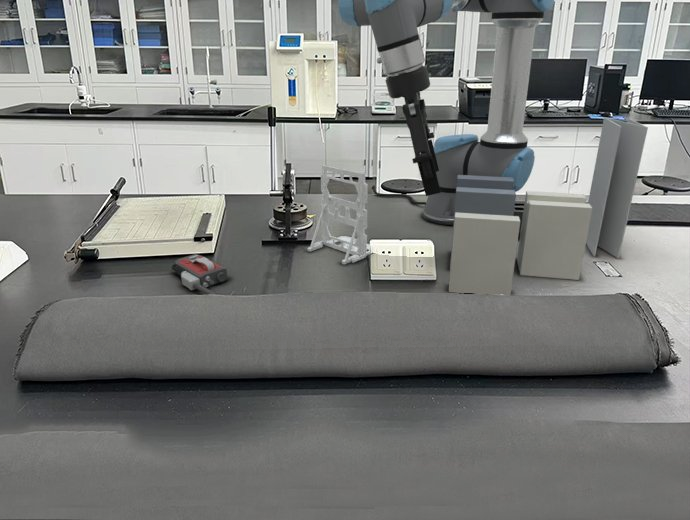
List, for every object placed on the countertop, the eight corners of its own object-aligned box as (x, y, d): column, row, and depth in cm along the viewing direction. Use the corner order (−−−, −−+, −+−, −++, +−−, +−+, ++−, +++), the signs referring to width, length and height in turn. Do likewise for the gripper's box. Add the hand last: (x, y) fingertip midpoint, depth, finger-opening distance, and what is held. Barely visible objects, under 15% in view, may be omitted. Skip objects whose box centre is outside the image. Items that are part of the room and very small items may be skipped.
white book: (510, 297, 105) (520, 221, 99) (448, 292, 107) (454, 216, 101) (509, 291, 108) (519, 216, 102) (449, 286, 110) (455, 212, 104)
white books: (579, 280, 113) (592, 205, 106) (520, 275, 115) (530, 202, 109) (571, 263, 121) (584, 194, 114) (516, 259, 123) (526, 190, 117)
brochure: (619, 258, 124) (648, 127, 112) (593, 256, 125) (620, 126, 113) (604, 237, 137) (629, 118, 125) (581, 236, 138) (604, 117, 126)
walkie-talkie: (162, 274, 115) (212, 305, 102) (160, 256, 114) (209, 284, 100) (199, 263, 121) (250, 291, 108) (196, 245, 119) (248, 271, 106)
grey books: (505, 274, 115) (516, 189, 108) (449, 270, 118) (456, 186, 110) (503, 256, 125) (512, 177, 117) (451, 252, 127) (457, 174, 120)
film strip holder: (386, 249, 129) (389, 168, 121) (347, 266, 120) (347, 179, 112) (343, 235, 138) (343, 159, 130) (304, 249, 129) (301, 168, 121)
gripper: (388, 69, 106) (415, 169, 114) (378, 86, 84) (412, 209, 92) (425, 57, 104) (449, 160, 112) (425, 72, 82) (455, 199, 90)
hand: (432, 182), depth 102 cm, fingers open, 13 cm apart
